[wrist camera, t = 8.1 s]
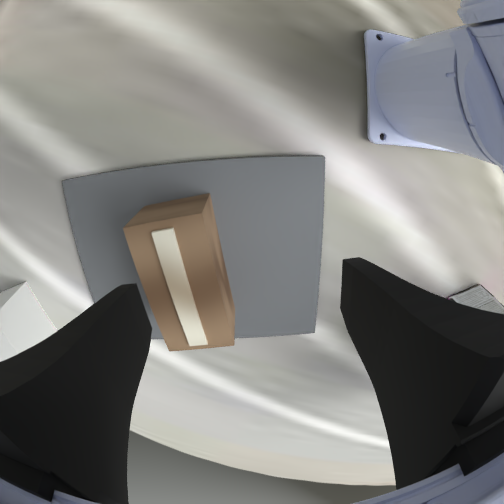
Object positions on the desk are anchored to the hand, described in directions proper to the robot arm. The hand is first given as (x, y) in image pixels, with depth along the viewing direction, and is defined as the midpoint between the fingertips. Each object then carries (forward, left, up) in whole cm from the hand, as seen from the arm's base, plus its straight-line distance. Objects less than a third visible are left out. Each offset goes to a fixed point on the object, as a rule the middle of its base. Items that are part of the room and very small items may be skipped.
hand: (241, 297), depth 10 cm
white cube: (+23, +9, -11) cm, 27 cm away
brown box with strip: (+4, +4, -10) cm, 11 cm away
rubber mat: (+4, +4, -10) cm, 12 cm away
